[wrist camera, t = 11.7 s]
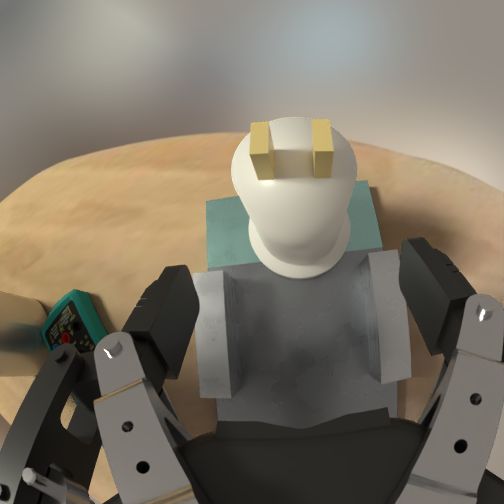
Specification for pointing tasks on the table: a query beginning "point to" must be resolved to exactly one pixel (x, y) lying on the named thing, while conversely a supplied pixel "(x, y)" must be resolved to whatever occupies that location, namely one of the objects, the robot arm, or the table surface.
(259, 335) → the housing
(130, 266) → the table surface
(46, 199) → the table surface
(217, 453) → the robot arm
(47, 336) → the digital multimeter
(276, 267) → the plug
